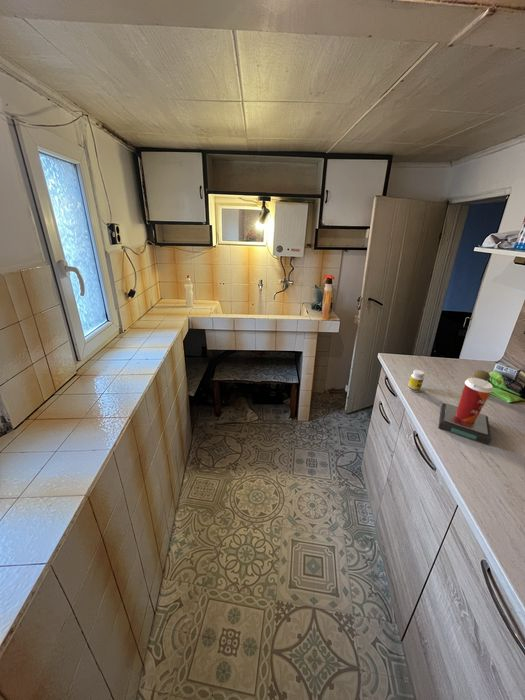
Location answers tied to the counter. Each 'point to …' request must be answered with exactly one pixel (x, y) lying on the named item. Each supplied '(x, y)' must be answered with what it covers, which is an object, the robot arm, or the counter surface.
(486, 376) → the cork
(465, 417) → the paper cup
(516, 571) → the counter surface
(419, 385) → the supplement bottle
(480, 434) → the kitchen scale
